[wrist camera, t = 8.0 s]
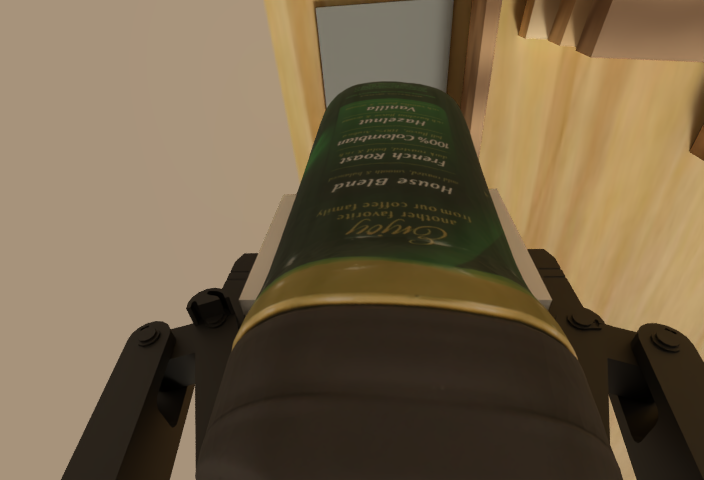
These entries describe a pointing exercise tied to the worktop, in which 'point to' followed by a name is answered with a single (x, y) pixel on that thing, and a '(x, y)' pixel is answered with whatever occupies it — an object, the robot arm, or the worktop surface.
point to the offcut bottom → (538, 18)
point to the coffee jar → (400, 322)
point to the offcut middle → (570, 22)
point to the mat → (385, 43)
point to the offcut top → (644, 30)
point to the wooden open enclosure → (480, 69)
